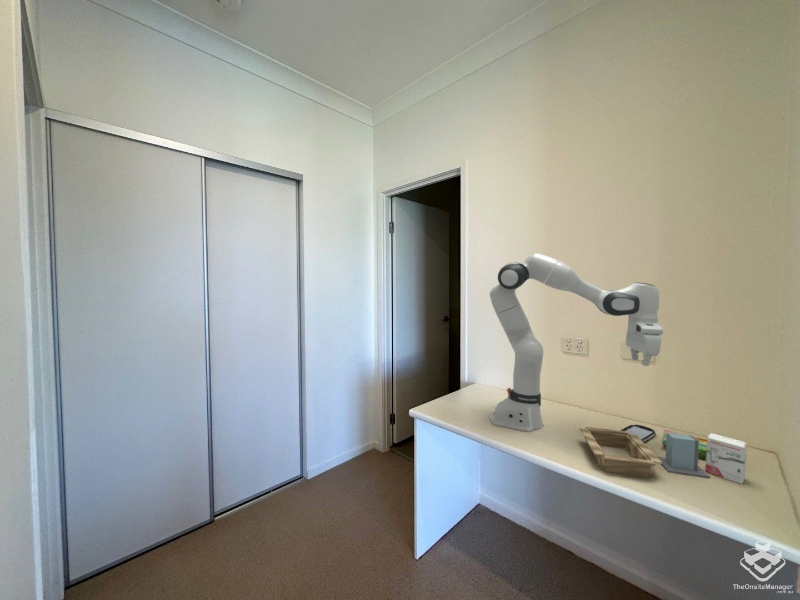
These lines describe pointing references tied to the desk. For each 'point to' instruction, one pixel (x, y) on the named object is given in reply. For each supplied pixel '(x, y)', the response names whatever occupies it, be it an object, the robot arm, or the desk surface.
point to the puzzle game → (702, 442)
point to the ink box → (726, 457)
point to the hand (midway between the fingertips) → (639, 362)
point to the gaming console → (640, 432)
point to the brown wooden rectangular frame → (620, 439)
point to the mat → (683, 470)
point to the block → (682, 451)
